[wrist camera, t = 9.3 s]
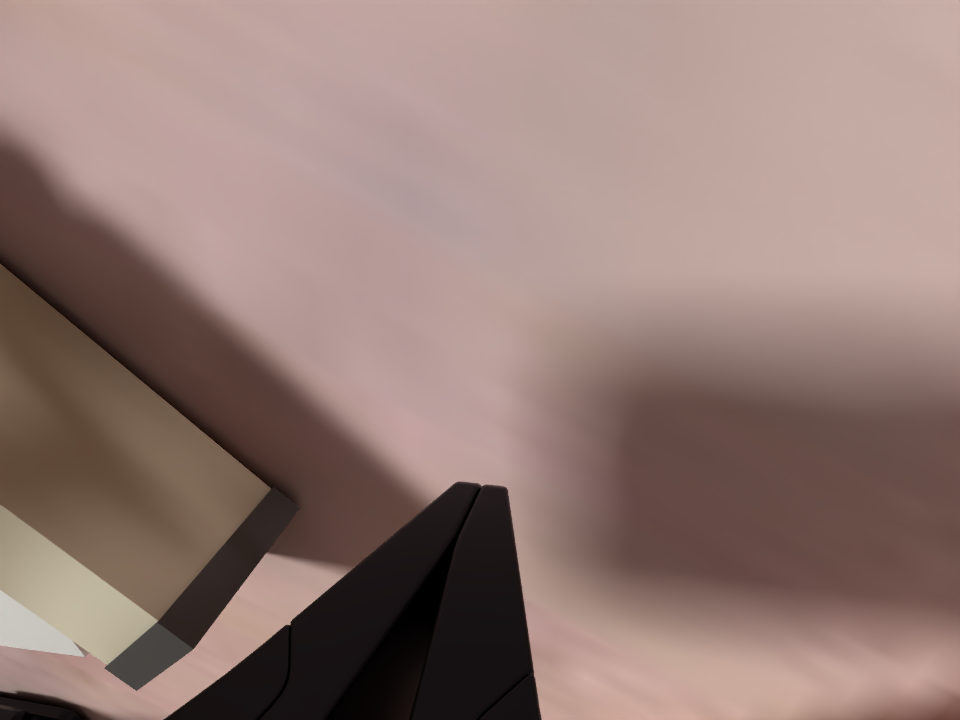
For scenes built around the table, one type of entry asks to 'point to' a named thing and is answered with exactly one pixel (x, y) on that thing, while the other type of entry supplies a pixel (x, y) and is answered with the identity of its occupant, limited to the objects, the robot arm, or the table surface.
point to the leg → (115, 499)
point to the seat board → (31, 631)
